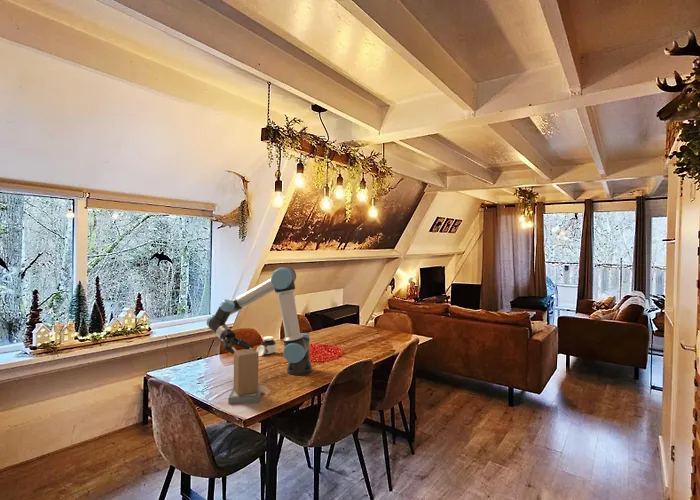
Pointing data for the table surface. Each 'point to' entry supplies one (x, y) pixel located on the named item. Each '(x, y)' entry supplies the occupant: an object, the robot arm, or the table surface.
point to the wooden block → (246, 371)
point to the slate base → (244, 397)
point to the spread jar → (267, 346)
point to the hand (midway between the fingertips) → (247, 356)
